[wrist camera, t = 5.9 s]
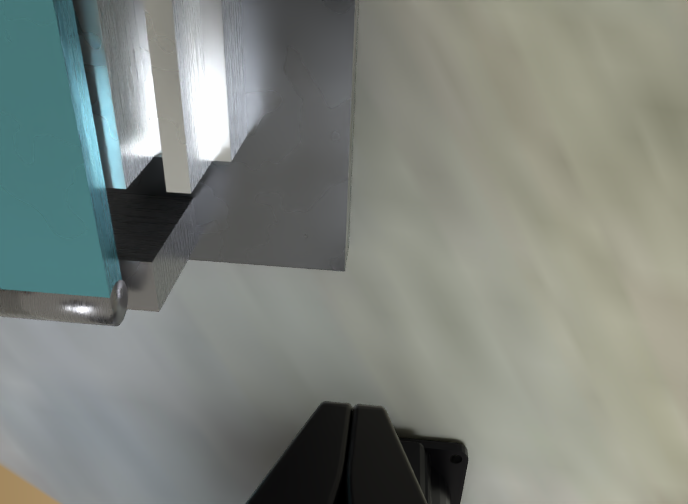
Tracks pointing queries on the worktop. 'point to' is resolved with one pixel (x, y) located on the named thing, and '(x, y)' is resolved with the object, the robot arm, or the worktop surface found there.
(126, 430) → the worktop surface
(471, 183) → the worktop surface
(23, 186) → the bar
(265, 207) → the heat sink base
